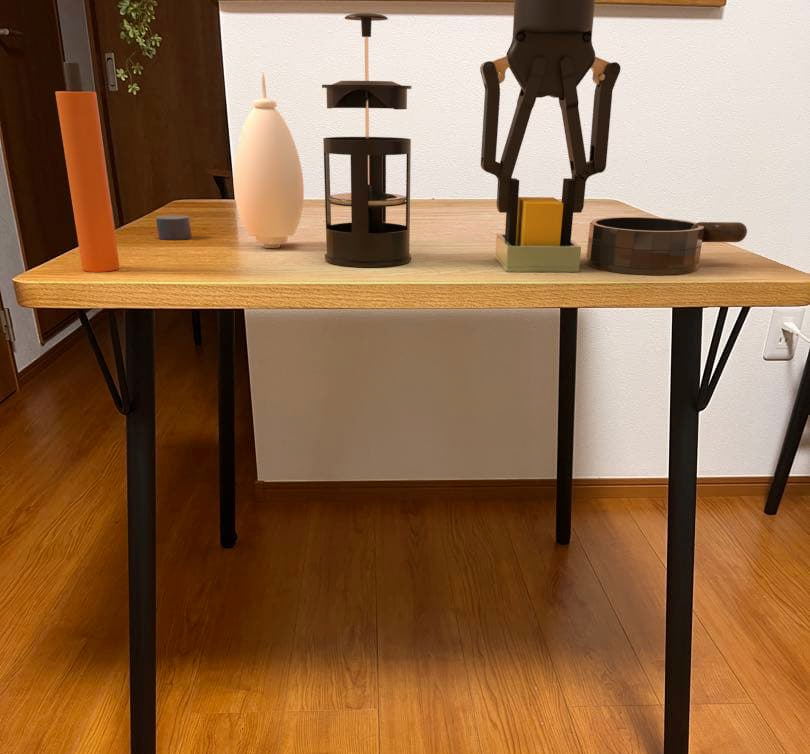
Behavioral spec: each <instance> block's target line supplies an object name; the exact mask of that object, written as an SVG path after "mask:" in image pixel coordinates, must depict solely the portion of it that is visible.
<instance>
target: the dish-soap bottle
mask: <svg viewBox="0 0 810 754" xmlns="http://www.w3.org/2000/svg"><path fill="white" fill-rule="evenodd" d="M63 68H64V76H65V82H66V89H67V91H65V90H64V91H62V90H61V91H58V90H57V91H55V100H56V106H57V113H58V118H59V119H58V120H59V126H60V132H61V138H62V145H63V151H64V152H63V153H64V158H65V164H66V165H65V166H66V171H67V177H68V185H69V191H70V197H71V204H72V210H73V216H74V217H73V218H74V222H75V230H76V236H77V237H76V238H77V244H78V250H79V256H80V262H81V263H80V264H81V269H82V271H84V272H87V273H88V272H89V273H104V272H105V273H106V272H107V273H108V272H113V271H117V270H119V269H120V261H119V254H118V247H117V246H118V245H117V239H116V237H117V236H116V230H115V223H114V216H113V209H112V201H111V193H110V187H109V185H110V184H109V178H108V172H107V171H108V170H107V163H106V156H105V148H104V141H103V134H102V133H103V132H102V126H101V119H100V111H99V104H98V103H99V102H98V96H97V92H96V91H84V84H83V77H82V76H83V75H82V70H81V64H80V62H79V61H78V62H77V61H64V62H63Z"/></svg>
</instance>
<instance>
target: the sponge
mask: <svg viewBox="0 0 810 754" xmlns="http://www.w3.org/2000/svg"><path fill="white" fill-rule="evenodd" d="M562 214H563V203H562V201H561V200H558V199H556V198H555V197H552V196H551V197H549V196H545V197H544V196H536V197H534V196H518V213H517V229H516V246H560V237H561V226H562Z"/></svg>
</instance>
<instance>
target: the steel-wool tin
mask: <svg viewBox="0 0 810 754" xmlns="http://www.w3.org/2000/svg"><path fill="white" fill-rule="evenodd" d="M155 221H156V229H157V238H158V239H159V240H163V241H164V240H165V241H180V240H181V241H182V240H189V239H191V238H192V227H191V218H190V216H189V215H185V214H167V215H157V216H156V217H155Z"/></svg>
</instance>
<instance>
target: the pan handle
mask: <svg viewBox="0 0 810 754" xmlns="http://www.w3.org/2000/svg"><path fill="white" fill-rule="evenodd" d="M695 223H696V224H694V225H693V226H692V228H691V229H696V228H697V226H696V225H704V233H703V240H702V243H740V242H742V241H743V240H744V239H746V237H747V234H748V228H747V226H746V225H745V223H743V222H740V221H738V222H737V221H726V222H725V221H698V222H695Z"/></svg>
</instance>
